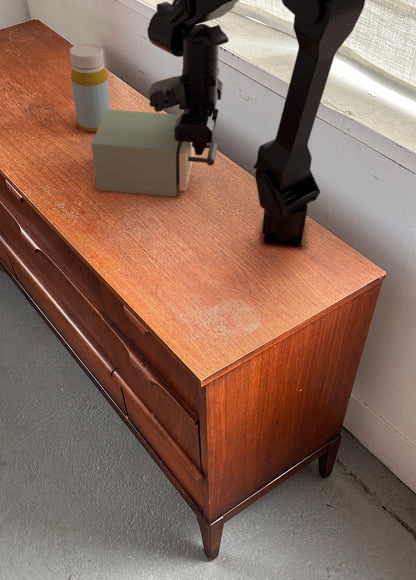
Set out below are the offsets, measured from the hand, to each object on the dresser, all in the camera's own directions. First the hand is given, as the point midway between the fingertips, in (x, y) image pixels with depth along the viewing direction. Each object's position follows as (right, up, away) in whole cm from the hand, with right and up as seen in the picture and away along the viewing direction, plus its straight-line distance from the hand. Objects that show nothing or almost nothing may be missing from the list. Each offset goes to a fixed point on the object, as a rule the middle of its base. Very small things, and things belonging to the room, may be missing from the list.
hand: (198, 154), depth 114 cm
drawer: (-6, -2, +3) cm, 7 cm away
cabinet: (-11, -2, +4) cm, 12 cm away
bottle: (-22, +11, +16) cm, 30 cm away
